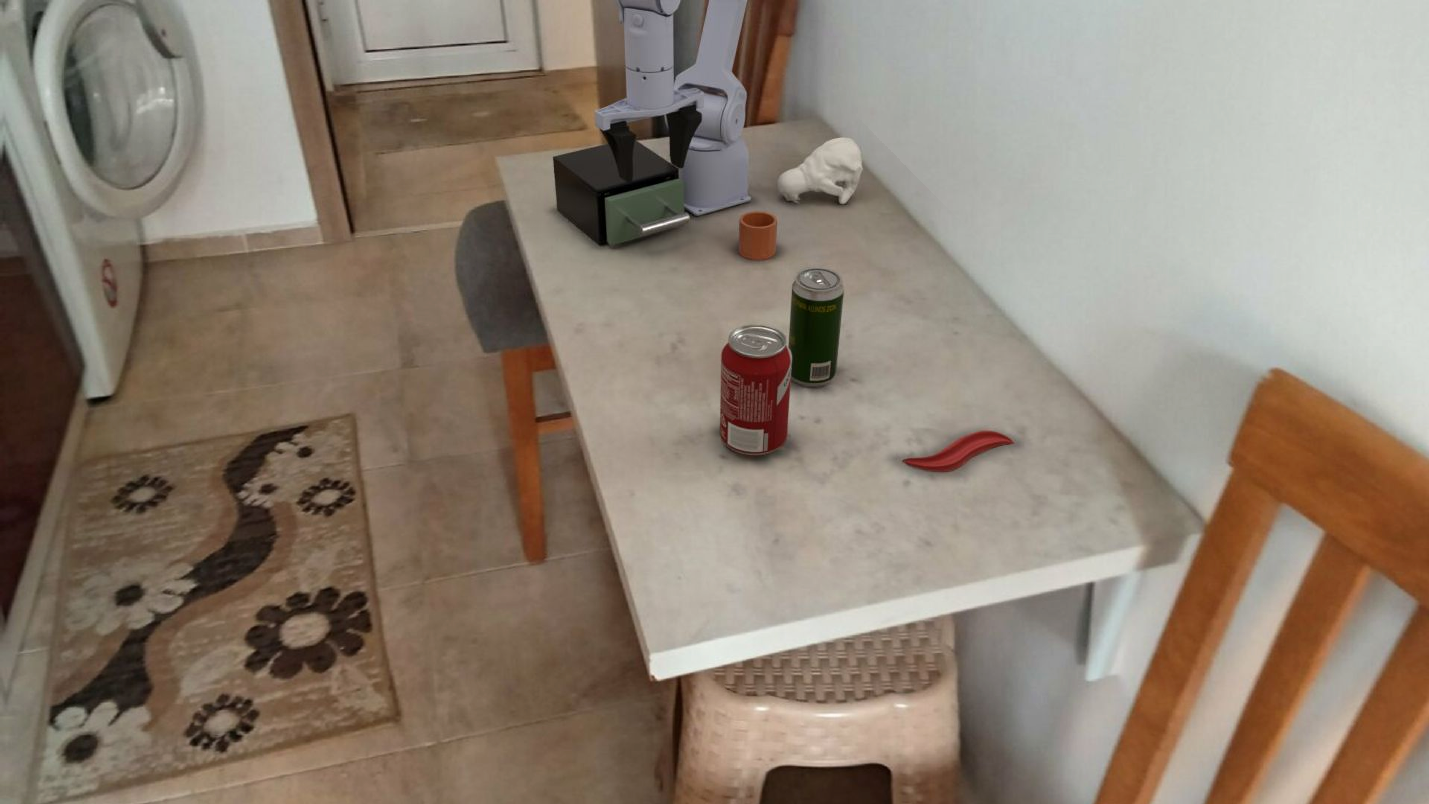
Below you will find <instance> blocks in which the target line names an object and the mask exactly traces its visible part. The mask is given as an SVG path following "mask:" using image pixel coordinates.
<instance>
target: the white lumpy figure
mask: <svg viewBox="0 0 1429 804" xmlns="http://www.w3.org/2000/svg"><path fill="white" fill-rule="evenodd" d="M863 171H864V168H863V158H862V152H861V149H860V147H859V145H858V144H857V143H856V142H855V141H854V139H852V138H850V137H836V138H833V139H829V140H827V141H825V142H824V143H823V144H821V145H820V146H818V147H817V148H815V149H814V150H813V151H812V153H811V154H810V155H809V156H807V157H806V158H805V159H804V160H803V162H802V163H800V164H799V165H798V167H794V168H791V169H788V170H785V171H784V172H782V173H781V174H780V175H779V177H778V180H777V190H778V192H779V193H780V194H781V195H782V196H783V197H784V198H785V200H786V201H787V202H791V201H792V202H794V203H797V204H799V199H800V194H801V195H802V194H803V193H807V192H814V193H823V192H824V193H825V194H828V195H831V196H834V197H836V196H837V197H838V203H839V204H840V205H845V204H846V203H847V202H848V201H849V199H850V198H851V197H852V196H853V195H854V194H855V191H856V189H857V187H858V184H859V182H860V178H861V175H862V172H863Z"/></svg>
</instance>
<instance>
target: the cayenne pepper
mask: <svg viewBox="0 0 1429 804" xmlns="http://www.w3.org/2000/svg"><path fill="white" fill-rule="evenodd" d="M1010 444H1014V441H1013V440H1012V439H1011V438H1010V437H1009V436H1007V435H1005V434H1003V433H1000V432H998V431H993V430H979V431H975V432H973V433H970V434H967V435H964V436H962V437H960V438H958V439H957V440H955V441H954V442H952V443H950V444H949V445H948V446H947V447H945V448H944V449H942V450H940V451H939V452H936V453H935V454H933V455H929V456H923V457H908V458H904V459H902V462H903V463H905V464H906V465H907V466H908V465H909V466H911V467H914V468H917V469H921V470H924V471H932V472H951V471H954V470H957V469H959V468H960V467H961V466H963V465H964V464H965V463H966V462H967V461H969V460H970V459H972V458H973V457H975V456H977V455H979V454H981V453H983V452H985V451H988V450H990V449H993V448H997V447H999V446H1003V445H1010Z"/></svg>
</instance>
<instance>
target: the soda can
mask: <svg viewBox="0 0 1429 804" xmlns="http://www.w3.org/2000/svg"><path fill="white" fill-rule="evenodd" d="M787 341H788V340H787V337H786V335H785V334H784V333H783V331H781V330H780V329H779V328H776V327H773V326H771V325H768V324H760V323H751V324H744V325H741V326H739V327H736V328H735V329H733V330H732V331H731V332H730V333H729V335H728V338H727V343H726V344H725V345H724V347H723V348H722V350H721V354H720V399H719V400H720V405H719V437H720V440H721V442H722V443H723V445H724V446H726V447H727V448H728V449H729V450H731V451H733V452H736V453H738V454H741V455H746V456H764V455H768V454H771V453H774V452H776V451H777V450H780V449H781V448H782V447H783V446H784V445H785V444H786V441H787V439H788V427H789V413H790V410H789V409H790V396H791V382H792V381H791V380H792V379H791V368H792V353H791V351H790V349H789V348H788V344H787Z"/></svg>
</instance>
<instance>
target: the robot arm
mask: <svg viewBox="0 0 1429 804" xmlns="http://www.w3.org/2000/svg"><path fill="white" fill-rule="evenodd" d="M613 1H614V3H615V5H616V7H617V10H618V21H619V23H620V24H621V25H622V26H623V30H624V31H623V34H624V62H625V85H626V86H625V87H626V97H625V98H622V99H621V100H618V101H616V102H613V103H612V104H609V105H607V106H605V107H601V108H598V109H595V110H593V114H594V126H595V127H596V128H597V129H599V131H600V132H601V134H602V135H603V137H604V139H605V141H606V142H607V144H609V146H610V149H611V151H612V153H613V156H614V159H615V162H616V165H617V168H618V172H619V177H620V178H622V179H623V180H625V181H626V182H631V181H632V179H633V149H634V143H635V140H636V138H637V134H636V133H635V132H633V131H632V130H630V126H629V125H628V123H632V122H636V121H641V120H645V119H649V118H653V117H659V116H660V117H661V116H664V123H665V126H666V128H667V130H668V135H669V136H668V137H669V160H670V163H671V164H673V165H674V166H676V167H677V168H679V179H681V180H682V181H684V210H686V211H688V212H689V213H691V214H692V215H693V216H696V217H698V216H703V215H705V214H709V213H712V212H713V213H714V212H717V211H719V210H724V209H726V208H730V207H734V206H737V205H741V204H744V203H748V202H751V201H752V197H751V196H750V195H749V174H750V173H749V171H750V169H749V167H750V156H749V155H750V154H749V150H748V147H747V144H746V142H745V140H744V139H743V137H742V136H741V135H742V133H743V131H744V127H745V123H746V122H745V121H746V103H747V98H748V97H747V96H748V95H747V94H748V93H747V91H746V89H745V88H746V87H744V85H743V84H742V83H741V82H740V80H739V79H738V78H737V77H736V75H735V74H734V73H733V67H734V62H735V58H736V53H737V50H738V49H737V48H738V45H739V39H740V35H741V30H742V26H743V21H744V18H745V12H746V8H747V3H748V0H708V4H707V9H706V13H705V19H704V22H703V28H702V32H701V37H700V41H699V46H698V51H697V54H696V55H697V56H696V59H695V60H696V61H695V63H694V64H693V65H691V66H689V68H687V69H685V70H683V71H682V72H680V73H678V75H676V76H675V75H674V74H675V73H674V71H675V69H674V63H675V62H674V13H675V12H676V11H677V10H678V9H679V6H680V4H681V0H613ZM674 78H675V79H674ZM722 94H723V95H722Z"/></svg>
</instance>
